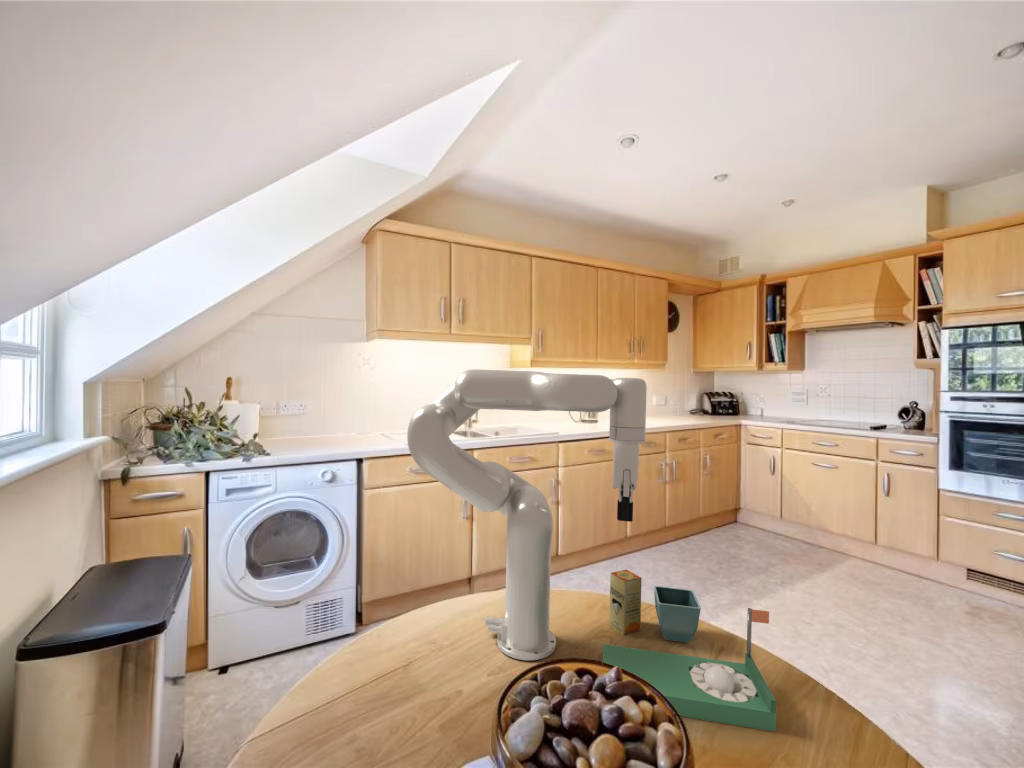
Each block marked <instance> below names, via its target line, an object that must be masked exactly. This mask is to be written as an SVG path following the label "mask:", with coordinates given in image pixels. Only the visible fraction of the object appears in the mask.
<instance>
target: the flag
mask: <svg viewBox="0 0 1024 768" xmlns="http://www.w3.org/2000/svg"><path fill="white" fill-rule="evenodd" d="M746 618H747V623H746V624H747V625H746V626H747V627H746V628H747V629H746V631H747V632H746V653H747V657H749V658H751V657H752V628H753V627H752V623H759V624H770V610H768V611H767V610H760V609H759V610H758V609H753V608H751V607H748V608H747V617H746ZM746 667H747V665H746Z"/></svg>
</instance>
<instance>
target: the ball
mask: <svg viewBox="0 0 1024 768" xmlns="http://www.w3.org/2000/svg"><path fill="white" fill-rule="evenodd" d="M703 680H704V682H706V683H707V684H708V685H709V686H710V687H711V688H713V689H716V690H718V691H720V692H723V693H730V694H734V692H733V690H734V683H733V680H732V678H731V676H730V674H729V673H728V672H727V671H726V670H724V669H723V668H721V667H717V666H712V667H709V668H708V669H707V670H706V671H705V673H704V676H703Z"/></svg>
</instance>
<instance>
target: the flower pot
mask: <svg viewBox="0 0 1024 768" xmlns="http://www.w3.org/2000/svg"><path fill="white" fill-rule="evenodd" d="M653 591H654V593H653V594H654V606H655V607H654V608H655V612H656V618H657V620H658V625H659V629H660V632H661V635H662V637H663V639H664V640H666V641H672V642H680V643H686V644H688V643H690V642H691V640H693V638H694V637H695V636H696V633H697V632H698V627H699V621H700V616H701V615H700V614H701V606H700V604H699V603H700V602H699V601H698V598H697V595H696V594H695V592H694V591H693V590H692V589H686V588H675V587H668V586H662V585H661V586H660V585H653Z"/></svg>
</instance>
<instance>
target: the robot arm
mask: <svg viewBox="0 0 1024 768" xmlns="http://www.w3.org/2000/svg"><path fill="white" fill-rule="evenodd" d="M479 410H503V411H504V410H505V411H527V412H531V411H532V412H541V411H543V412H544V411H553V412H554V411H559V412H583V413H586V412H587V413H602V412H605V411H608V410H609V430H608V431H609V433H608V434H609V436H608V438H609V439H608V441H609V442H612V443H613V448H612V449H613V453H612V478H611V479H612V480H611V481H612V482H611V483H612V486H611V487H612V489H614V490H617V489H618V499H617V507H616V508H617V512H616V513H617V514H616V518H617V519H616V520H617V521H620V522H630V523H632V522H633V521H634V520H633V518H634V517H633V516H634V514H633V513H634V501H633V491H636V490H637V485H638V475H639V463H640V462H639V460H640V459H639V458H640V444H645V443H646V424H647V423H646V422H647V421H646V420H647V419H646V418H647V413H646V412H647V383H646V381H645V380H644V379H642V378H638V377H617V378H614V379H613V378H609V377H607V376H605V375H600V374H577V373H576V374H575V373H574V374H572V373H552V372H551V373H549V372H541V371H532V370H530V371H529V370H502V369H501V370H499V369H473V368H472V369H467V370H465V371H462V372H461V373H460V374H459V375H457V377H456V380H455V382H454V384H453V385H452V386H451V387H450V388H448V389H447V390H446V391H445V392H444V393H443V394H441V395H440V396H439V397H438V398H437V399H436V400H435V401H433V402H431V403H430V404H427V405H424V406H422V407H420V408H418V409H417V410H416V411H415V412H414V413H413V415H412V416H411V417H410V419H409V422H408V426H407V427H408V428H407V432H406V433H407V434H406V435H407V436H406V438H407V439H406V440H407V446H408V450H409V453H410V455H411V457H412V459H413V461H414V462H415V464H416V465H417V466H418V467H419V468H420V469H421V470H422V471H423V472H425V474H427V475H429V477H431V478H433V479H434V480H435V481H437V482H439V483H441V484H442V485H443V486H444V487H445V488H447V489H449V490H450V491H452V492H454V493H455V495H458V496H459V497H460V498H462V499H463V500H465V501H466V502H467V503H469V504H471V505H472V506H473V507H474V508H475V509H477V510H479V511H482V512H485V513H495V512H497V511H498V512H499V513H501V514H502V515H504V516H505V517H506V519H507V520H506V556H505V557H506V559H505V560H506V563H505V607H504V616H500V618H498V617H494V616H486V619H485V627H488V630H487V631H488V632H489V633H496V634H497V633H498V634H497V636H496V639H497V640H496V641H497V642H496V644H497V647H498V649H499V650H500V651H501V652H502V653H503V654H505V655H506V656H507V657H510V658H513V659H515V660H519V661H520V660H521V661H536V660H537V661H538V660H543V659H545V658H547V657H549V656H550V655H552V653H554V652H555V650H556V647H557V638H556V636H555V633H553V632H552V630H550V604H551V603H550V600H551V596H550V595H551V566H552V565H551V559H552V558H551V557H552V543H553V536H554V535H553V534H554V520H553V514H552V510H551V508H550V505H549V503H548V501H547V498H546V496H545V494H543V492H542V491H541V490H540V489H538V488H537V487H536V486H534V485H533V484H531V483H530V482H528V481H527V480H525V479H524V478H522V477H521V476H519V475H518V474H516V473H515V472H513V471H511V470H510V469H509V468H507V467H506V466H504V465H503V464H500V463H498V462H496V461H481V460H480V459H478V458H476V457H475V456H474V455H472V454H471V453H469V452H468V451H466V450H465V449H463V448H461V447H460V446H458V445H456V444H455V443H453V441H452V440H451V438H450V436H451V435H452V434H453V433H455V431H457V430H458V429H459V428H460V427H461V426H462V425H464V423H466V422H467V421H468V420H469V419H471V418H472V417H473V416H474V415H475V414H476V413H477V412H479Z"/></svg>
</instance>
